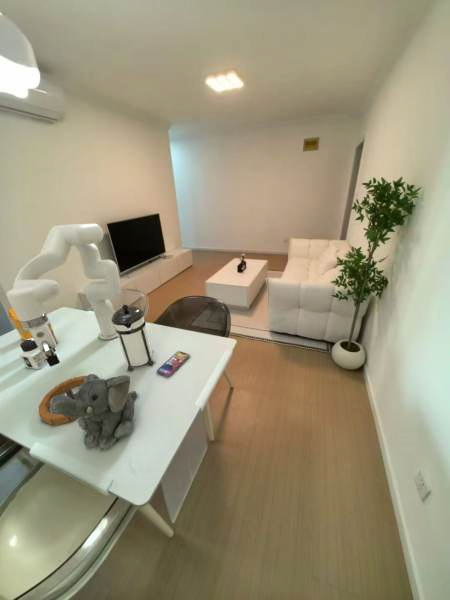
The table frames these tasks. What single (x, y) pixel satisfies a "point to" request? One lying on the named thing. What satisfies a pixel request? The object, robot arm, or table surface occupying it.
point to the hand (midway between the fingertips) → (53, 358)
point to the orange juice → (19, 326)
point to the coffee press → (132, 336)
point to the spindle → (70, 393)
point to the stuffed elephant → (100, 409)
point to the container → (32, 354)
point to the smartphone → (173, 363)
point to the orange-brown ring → (56, 391)
